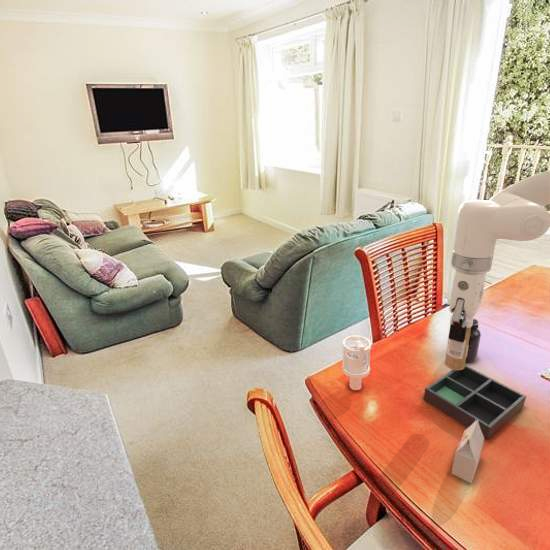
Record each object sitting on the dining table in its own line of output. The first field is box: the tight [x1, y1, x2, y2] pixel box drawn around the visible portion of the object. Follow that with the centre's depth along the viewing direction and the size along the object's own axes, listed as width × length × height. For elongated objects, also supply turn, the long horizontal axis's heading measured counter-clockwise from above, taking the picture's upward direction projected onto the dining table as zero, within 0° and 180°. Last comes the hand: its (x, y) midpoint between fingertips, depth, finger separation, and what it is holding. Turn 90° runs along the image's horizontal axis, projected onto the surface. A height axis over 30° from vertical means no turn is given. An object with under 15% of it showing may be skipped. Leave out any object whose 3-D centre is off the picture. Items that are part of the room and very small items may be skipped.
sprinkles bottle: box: [444, 312, 474, 370], centre depth 86 cm, size 5×5×14 cm
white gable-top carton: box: [451, 420, 485, 484], centre depth 74 cm, size 4×7×10 cm, turn 141°
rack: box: [423, 364, 527, 441], centre depth 92 cm, size 16×16×4 cm
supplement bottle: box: [465, 317, 481, 364], centre depth 107 cm, size 7×7×12 cm
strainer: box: [341, 334, 372, 391], centre depth 97 cm, size 7×7×15 cm
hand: (459, 333), depth 85 cm, fingers closed on sprinkles bottle, 4 cm apart
